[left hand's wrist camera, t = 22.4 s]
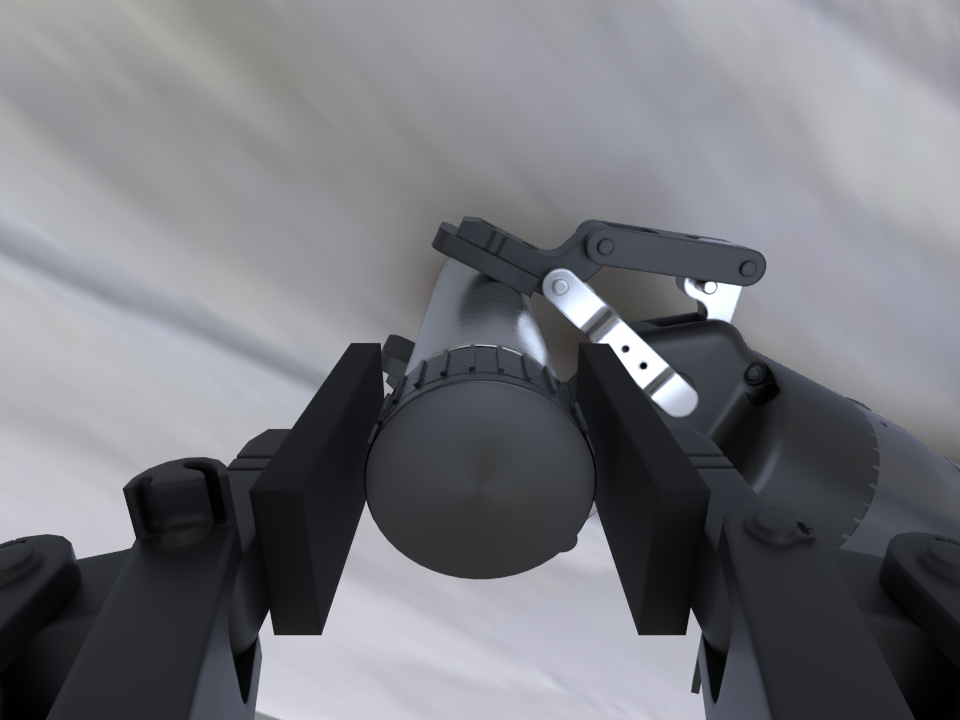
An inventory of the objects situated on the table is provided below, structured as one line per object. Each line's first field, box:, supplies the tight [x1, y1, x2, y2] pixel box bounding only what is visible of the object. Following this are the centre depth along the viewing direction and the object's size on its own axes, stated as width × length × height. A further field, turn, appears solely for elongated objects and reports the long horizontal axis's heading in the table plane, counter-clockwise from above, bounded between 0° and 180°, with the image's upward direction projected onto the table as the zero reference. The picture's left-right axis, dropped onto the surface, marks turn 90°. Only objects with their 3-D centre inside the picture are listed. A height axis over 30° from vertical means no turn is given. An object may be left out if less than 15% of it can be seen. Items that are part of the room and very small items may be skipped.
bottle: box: [405, 257, 557, 378], centre depth 18 cm, size 4×4×16 cm
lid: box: [364, 344, 597, 579], centre depth 11 cm, size 4×4×2 cm
